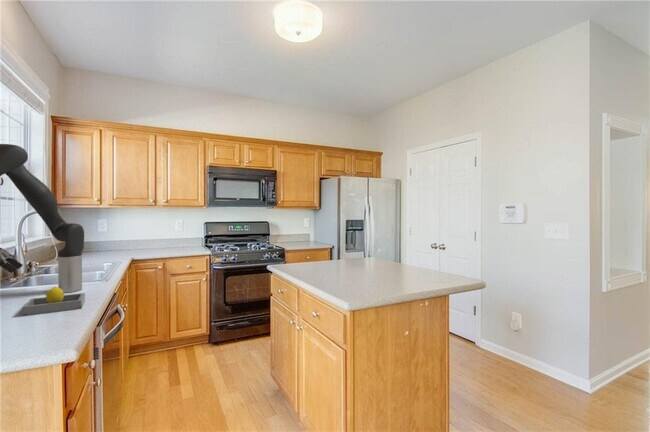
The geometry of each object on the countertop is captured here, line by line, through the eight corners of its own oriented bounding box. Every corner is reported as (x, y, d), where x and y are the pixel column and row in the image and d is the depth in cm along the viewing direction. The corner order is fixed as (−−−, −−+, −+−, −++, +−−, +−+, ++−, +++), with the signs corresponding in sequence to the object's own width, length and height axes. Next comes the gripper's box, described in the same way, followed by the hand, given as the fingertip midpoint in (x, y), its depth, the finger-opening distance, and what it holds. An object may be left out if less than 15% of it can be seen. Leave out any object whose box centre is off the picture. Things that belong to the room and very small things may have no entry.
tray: (31, 306, 133) (30, 298, 133) (85, 300, 142) (84, 292, 142) (22, 316, 122) (22, 307, 122) (81, 308, 131) (81, 300, 131)
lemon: (52, 304, 134) (52, 285, 134) (67, 303, 135) (66, 285, 134) (42, 308, 129) (42, 288, 128) (57, 308, 129) (57, 288, 129)
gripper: (-23, 235, 114) (21, 264, 121) (-8, 232, 127) (31, 259, 133) (-44, 251, 112) (2, 280, 118) (-27, 246, 124) (13, 273, 130)
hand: (17, 269), depth 126 cm, fingers open, 8 cm apart
